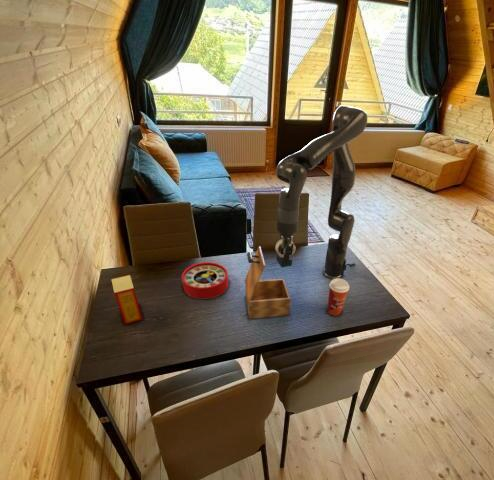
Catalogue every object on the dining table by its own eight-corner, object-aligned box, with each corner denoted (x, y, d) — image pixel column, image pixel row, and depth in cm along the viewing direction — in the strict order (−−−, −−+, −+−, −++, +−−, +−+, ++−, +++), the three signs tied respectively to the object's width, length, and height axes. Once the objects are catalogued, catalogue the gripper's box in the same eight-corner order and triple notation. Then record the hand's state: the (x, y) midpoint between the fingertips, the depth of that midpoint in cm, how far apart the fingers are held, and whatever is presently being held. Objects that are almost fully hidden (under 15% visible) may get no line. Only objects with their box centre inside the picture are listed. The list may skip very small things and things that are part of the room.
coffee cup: (331, 319, 132) (337, 291, 123) (321, 307, 137) (325, 280, 128) (347, 314, 135) (354, 286, 126) (336, 302, 141) (342, 275, 132)
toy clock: (213, 257, 153) (236, 277, 141) (214, 267, 156) (236, 287, 145) (173, 271, 141) (195, 294, 130) (175, 282, 145) (197, 305, 133)
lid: (260, 246, 125) (247, 243, 123) (265, 265, 115) (251, 262, 112) (246, 280, 134) (234, 278, 132) (249, 301, 123) (236, 299, 121)
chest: (282, 294, 143) (284, 278, 138) (289, 315, 132) (290, 298, 127) (245, 297, 140) (245, 281, 134) (249, 318, 129) (248, 302, 124)
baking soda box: (121, 309, 128) (110, 278, 119) (138, 304, 131) (129, 273, 122) (125, 324, 122) (114, 292, 112) (142, 319, 125) (133, 287, 115)
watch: (296, 264, 125) (299, 241, 118) (277, 268, 123) (279, 244, 116) (290, 257, 129) (293, 234, 122) (272, 260, 126) (273, 236, 119)
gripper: (302, 227, 109) (298, 268, 119) (293, 210, 120) (290, 248, 130) (281, 228, 107) (278, 269, 117) (274, 210, 118) (272, 249, 128)
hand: (284, 258), depth 124 cm, fingers closed on watch, 4 cm apart
